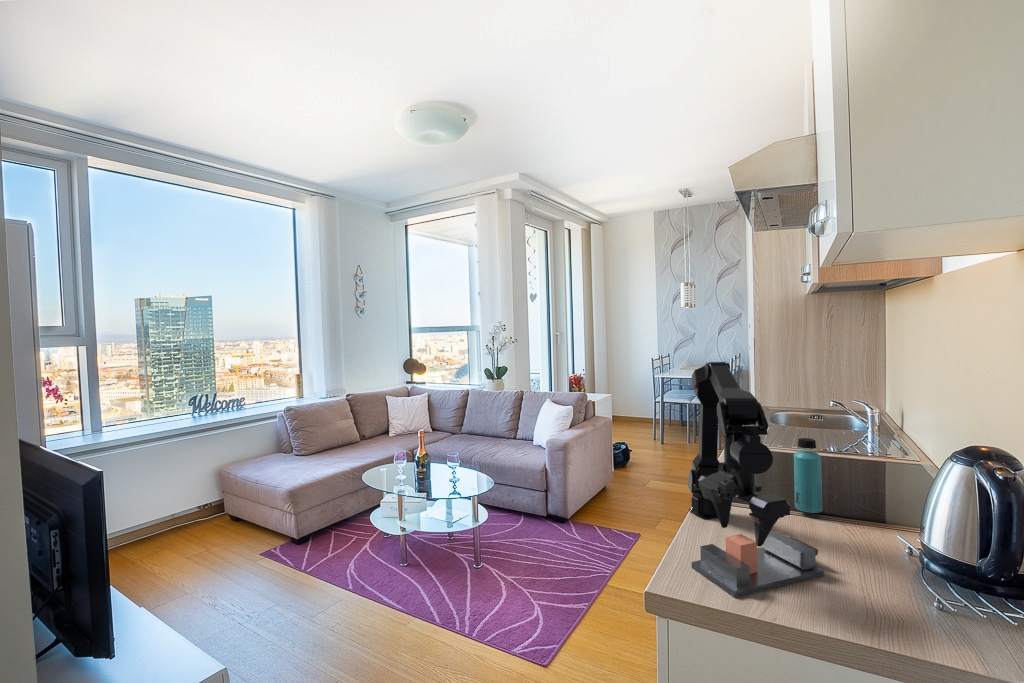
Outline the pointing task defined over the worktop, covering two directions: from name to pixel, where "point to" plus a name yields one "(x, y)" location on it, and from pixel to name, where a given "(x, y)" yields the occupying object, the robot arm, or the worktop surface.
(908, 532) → the worktop surface
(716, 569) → the vise base
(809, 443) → the beverage bottle
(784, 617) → the worktop surface
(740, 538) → the brick-red block
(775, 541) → the sliding jaw
